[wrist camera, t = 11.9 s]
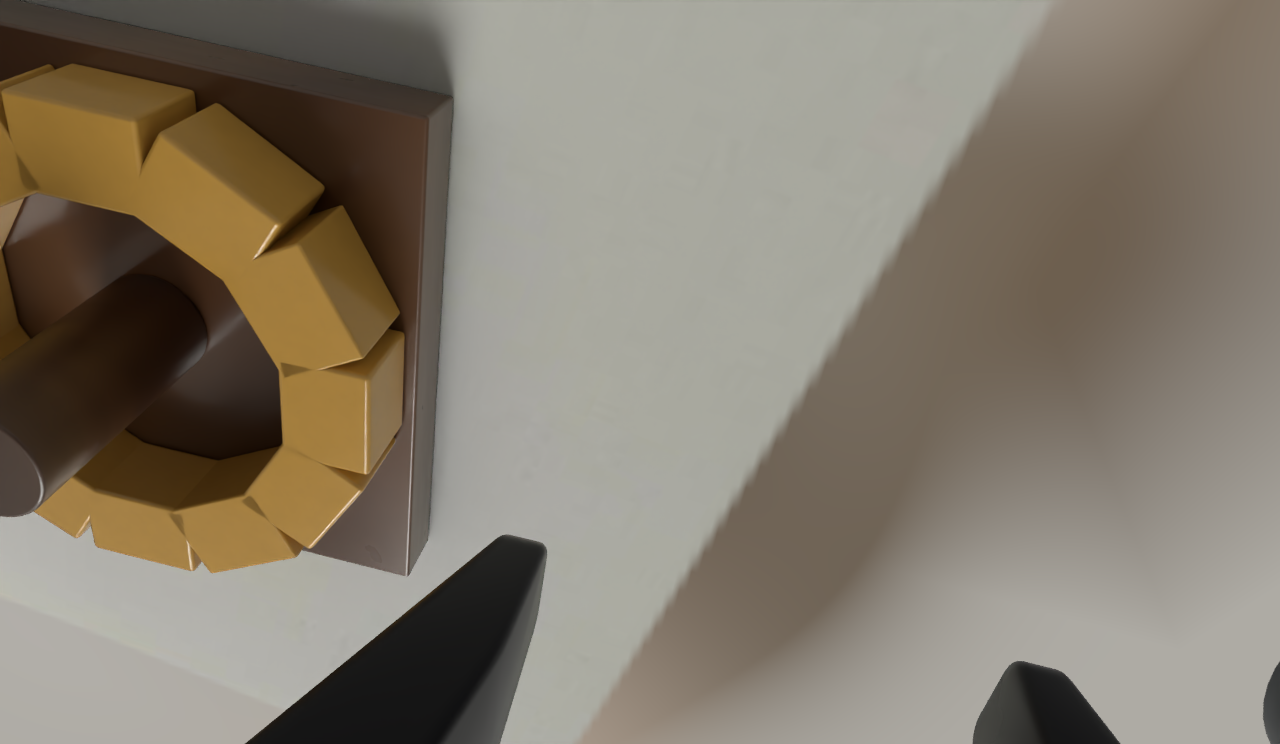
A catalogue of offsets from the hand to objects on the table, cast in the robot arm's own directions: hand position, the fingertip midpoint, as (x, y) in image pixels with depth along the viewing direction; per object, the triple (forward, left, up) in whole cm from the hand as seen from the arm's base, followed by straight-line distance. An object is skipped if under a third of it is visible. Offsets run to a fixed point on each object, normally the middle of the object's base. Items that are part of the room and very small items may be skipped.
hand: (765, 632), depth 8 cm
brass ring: (+11, +4, -8) cm, 14 cm away
